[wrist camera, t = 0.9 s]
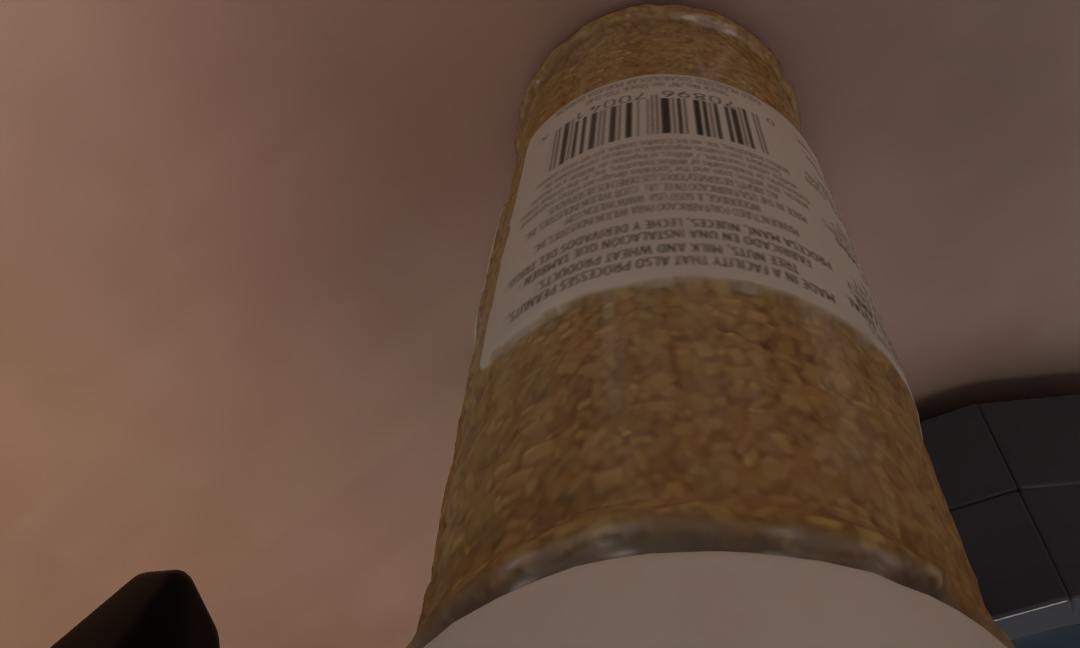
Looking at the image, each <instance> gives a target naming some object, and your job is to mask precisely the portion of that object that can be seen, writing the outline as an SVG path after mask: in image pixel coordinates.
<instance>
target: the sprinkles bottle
mask: <svg viewBox="0 0 1080 648" xmlns="http://www.w3.org/2000/svg"><path fill="white" fill-rule="evenodd" d="M515 147H516V152H517V155H518V157H517V161H516V165H515V171H514V176H513V180H512V185H511V189H510V193H509V198H508V201H507V202H506V204H505V205H504V207H503V208H502V210H501V213H500V216H499V219H498V223H497V228H496V232H495V236H494V240H493V244H492V248H491V252H490V256H489V260H488V265H487V270H486V275H485V279H484V284H483V288H482V292H481V297H480V301H479V306H478V310H477V315H476V319H475V324H474V349H475V351H474V354H473V358H472V362H471V365H470V369H469V376H468V380H467V387H466V394H465V398H464V403H463V408H462V412H461V417H460V419H459V423H458V430H457V438H456V443H455V453H454V458H453V463H452V466H451V469H450V473H449V477H448V480H447V484H446V488H445V493H444V498H443V503H442V509H441V518H440V523H439V532H438V537H437V542H436V547H435V554H434V561H433V565H432V579H431V582H430V584H429V586H428V588H427V589H426V593H425V596H424V602H423V607H422V613H421V616H420V620H419V624H418V628H417V632H416V634H415V636H414V638H413V639H412V641H411V642H410V643H409V645H408V646H407V647H406V648H1015V647H1014V645H1013V643H1012V641H1011V639H1010V637H1009V636H1008V635H1007V634H1006V633H1005V632H1004V631H1003V630H1002V629H1001V628H1000V627H999V626H998V625H996V624H995V622H994V621H993V619H992V617H991V616H990V614H989V612H988V611H987V609H986V607H985V605H984V602H983V599H982V596H981V593H980V590H979V588H978V582H977V578H976V576H975V573H974V571H973V569H972V567H971V565H970V563H969V561H968V558H967V555H966V553H965V551H964V547H963V544H962V541H961V538H960V535H959V533H958V531H957V528H956V526H955V523H954V521H953V519H952V516H951V514H950V512H949V509H948V506H947V503H946V500H945V497H944V495H943V492H942V490H941V488H940V485H939V483H938V480H937V477H936V474H935V471H934V468H933V465H932V462H931V459H930V456H929V454H928V452H927V450H926V448H925V445H924V443H923V436H922V430H921V425H920V420H919V415H918V411H917V408H916V404H915V401H914V399H913V396H912V393H911V390H910V388H909V385H908V382H907V380H906V377H905V375H904V372H903V370H902V367H901V365H900V362H899V360H898V357H897V355H896V352H895V350H894V347H893V345H892V343H891V340H890V338H889V335H888V333H887V330H886V328H885V325H884V323H883V320H882V318H881V315H880V313H879V311H878V308H877V306H876V303H875V301H874V298H873V296H872V293H871V291H870V288H869V286H868V284H867V281H866V279H865V277H864V274H863V272H862V269H861V267H860V265H859V262H858V260H857V257H856V255H855V252H854V250H853V247H852V245H851V242H850V240H849V237H848V235H847V232H846V230H845V227H844V225H843V223H842V220H841V218H840V215H839V213H838V210H837V207H836V205H835V202H834V200H833V197H832V195H831V192H830V190H829V187H828V185H827V182H826V180H825V178H824V175H823V173H822V170H821V168H820V166H819V163H818V161H817V159H816V157H815V155H814V154H813V152H812V150H811V149H810V147H809V145H808V143H807V142H806V141H805V139H804V138H803V137H802V134H801V120H800V114H799V111H798V107H797V101H796V98H795V95H794V91H793V88H792V85H791V84H790V82H789V80H788V79H787V77H786V76H785V74H784V73H783V71H782V69H781V67H780V65H779V64H778V62H777V60H776V59H775V57H774V56H773V54H772V53H771V52H770V51H769V50H768V49H767V48H766V47H765V46H764V45H763V44H762V43H761V42H760V41H759V40H758V39H757V38H756V37H755V36H754V35H752V34H751V33H750V32H748V31H746V30H745V29H743V28H742V27H741V26H739V25H738V24H737V23H735V22H734V21H732V20H729V19H727V18H725V17H723V16H721V15H719V14H717V13H715V12H712V11H709V10H705V9H697V8H692V7H688V6H685V5H678V4H670V5H662V6H657V5H653V4H644V5H639V6H633V7H628V8H625V9H623V10H621V11H618V12H614V13H610V14H607V15H604V16H601V17H600V18H598V19H596V20H594V21H591V22H589V23H587V24H586V25H584V26H583V27H582V28H581V29H580V30H578V31H577V32H575V33H574V34H572V35H571V36H570V37H569V38H568V39H567V40H566V41H565V42H563V43H562V44H561V45H560V46H559V47H557V48H556V49H554V50H553V51H552V52H551V53H550V54H549V56H548V57H547V59H546V61H545V62H544V64H543V65H542V67H541V68H540V70H539V71H538V72H537V73H536V74H535V76H534V78H533V80H532V81H531V83H530V85H529V87H528V88H527V90H526V93H525V96H524V98H523V101H522V104H521V109H520V116H519V124H518V129H517V134H516V141H515Z"/></svg>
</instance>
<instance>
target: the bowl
mask: <svg viewBox="0 0 1080 648" xmlns="http://www.w3.org/2000/svg"><path fill="white" fill-rule="evenodd" d="M920 425H921V430H922V436H923V443H924V445H925V448H926V450H927V452H928V454H929V456H930V459H931V462H932V465H933V468H934V471H935V474H936V477H937V480H938V483H939V485H940V488H941V490H942V492H943V495H944V497H945V500H946V503H947V506H948V509H949V512H950V514H951V516H952V519H953V521H954V523H955V526H956V528H957V531H958V533H959V535H960V538H961V541H962V544H963V547H964V551H965V553H966V555H967V558H968V561H969V563H970V565H971V567H972V569H973V571H974V573H975V576H976V578H977V582H978V588H979V590H980V593H981V596H982V599H983V602H984V605H985V607H986V609H987V611H988V612H989V614H990V616H991V617H992V619H993V621H994V622H995V624H996V625H998V626H999V627H1000V628H1001V629H1002V630H1003V631H1004V632H1005V633H1006V634H1007V635H1008V636H1009V637H1010V639H1011V641H1012V643H1013V645H1014V647H1015V648H1080V394H1071V395H1061V396H1051V397H1040V398H1030V399H1019V400H1009V401H999V402H988V403H981V404H979V405H977V404H972V405H969V406H966V407H963V408H960V409H957V410H954V411H951V412H948V413H945V414H942V415H939V416H936V417H933V418H930V419H927V420H924V421H922V422H920Z"/></svg>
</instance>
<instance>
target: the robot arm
mask: <svg viewBox="0 0 1080 648" xmlns="http://www.w3.org/2000/svg"><path fill="white" fill-rule="evenodd" d="M51 648H220V645H219V637H218V632H217V629H216V627H215V625H214V623H213V621H212V619H211V617H210V614H209V612H208V610H207V608H206V606H205V604H204V602H203V600H202V598H201V596H200V594H199V592H198V590H197V588H196V586H195V584H194V582H193V580H192V579H191V577H190V576H189V575H188V574H186V573H185V572H184V571H180V570H167V571H155V572H146V573H142V574H139V575H137V576H135V577H134V578H133V579H131V580H130V581H129V582H128V583H127V584H125V585H124V586H123V587H122V588H121V589H119V590H118V591H117V592H116V593H115V594H114V595H112V596H111V597H110V598H109V599H108V600H106V601H105V602H104V603H103V604H102V605H100V606H99V607H98V608H97V609H96V610H95V611H93V612H92V613H91V614H90V615H89V616H87V617H86V618H85V619H84V620H83V621H81V622H80V623H79V624H78V625H77V626H76V627H74V628H73V629H72V630H71V631H70V632H68V633H67V634H66V635H65V636H64V637H62V638H61V639H60V640H59V641H58V642H57V643H55V644H54V645H53V646H52V647H51Z"/></svg>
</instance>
